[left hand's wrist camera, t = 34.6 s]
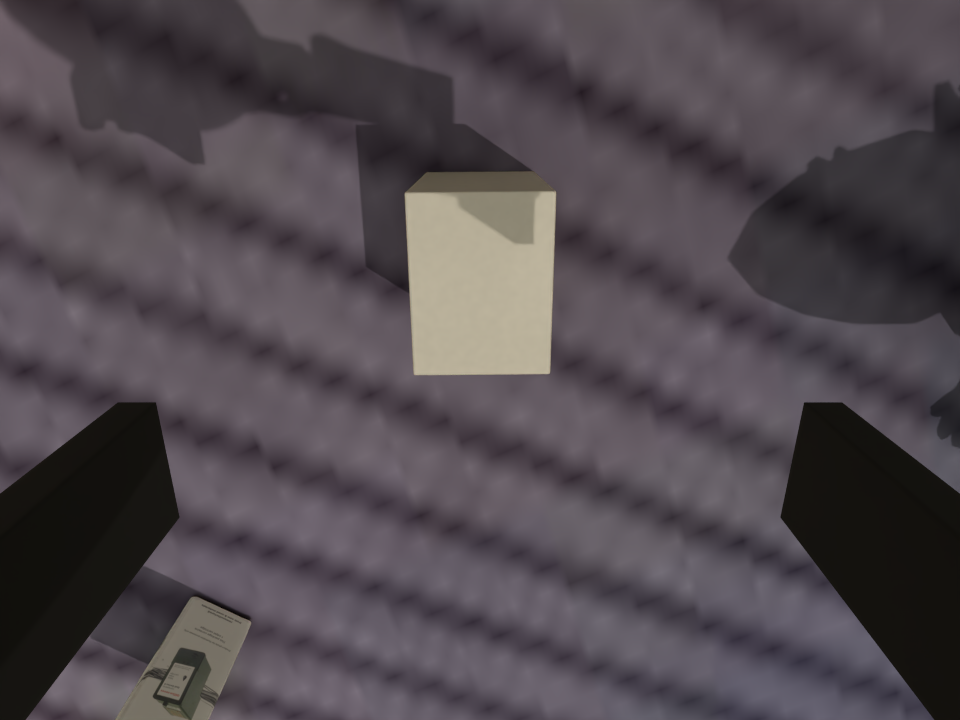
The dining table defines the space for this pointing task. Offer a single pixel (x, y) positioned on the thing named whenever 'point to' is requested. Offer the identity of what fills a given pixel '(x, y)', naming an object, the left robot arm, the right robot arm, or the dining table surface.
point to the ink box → (188, 666)
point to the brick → (481, 272)
